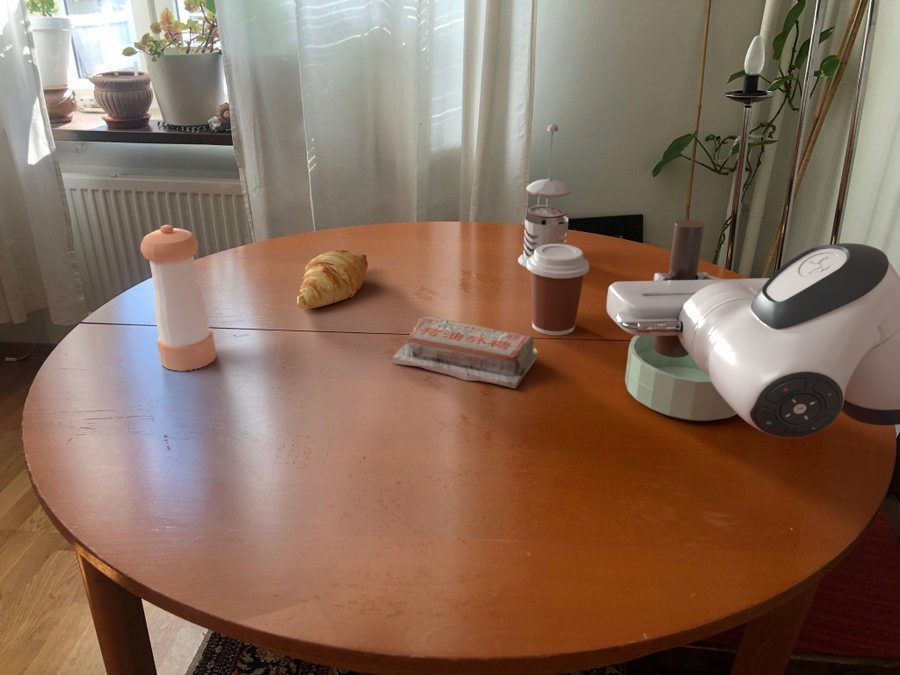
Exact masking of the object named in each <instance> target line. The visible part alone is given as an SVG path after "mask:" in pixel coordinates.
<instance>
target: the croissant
mask: <svg viewBox="0 0 900 675" xmlns="http://www.w3.org/2000/svg"><path fill="white" fill-rule="evenodd" d="M368 266H369V262H368V260H367V256H366V254H363V253H351V252H350V251H349V250H329V251H325V252H322V253H321V254H318V255H316V256H314V257H313V258H312V259H311V260H309V261H308V263H307V264H306V266H305V268H304V270H305V273H304V275H303V276H302V284H301V285H300V287H299V294H298V295H297V296H296V300H297V301H296V305H297V306H298V307H299V308H300V309H305V310H306V309H308V310H309V309H314V308H322V307H325V306H328V305H332V304H334V303H338V302H341V301H344V300H347V299H349V298H353V297H354V296H355V295H356V293H357V292H358V291H359V290H360V289H361V287H362V286H363V284H364V281H365V280H364V279H365V277H366V274H367V270H368Z"/></svg>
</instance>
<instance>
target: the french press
mask: <svg viewBox="0 0 900 675" xmlns="http://www.w3.org/2000/svg"><path fill="white" fill-rule="evenodd" d="M546 131H547V132H551V133H550V134H551V135H550V136H551V138H550V152H549V165H548V178H547V179H538V180H535V181H533V182H531V183H529V184H528V185H527V186H526V188H525V190H526V191H527V192H528V193H529V194H531V195H534V196H537V205H533V206H530V207H528V208H527V213H528V215H526V216H525V218H524V235H523V236H524V237H523V253H522V254H521V255H520V256H519V257H518V259H517V262H518V263H519V265H520V266H522V267H525V268H527V260H528V259H529V258H530V257H531V256H533V255H534V250H535V249H536V248H538V247H539V246H542V245H547V244H563V243H564V244H565V245H568V244H567V243H568V241H567V240H568V230H569V229H568V228H569V218H568V217H567V216H566V215H567V214H568V210H567V209H565V208H564V207H561V206H560V205H559V206H558V205H550V204H549V201H550V199H549V198H560V197H565V196H568V195H570V194H571V193H572V191H573V190H572V188H571V187H570V186H569V185H568V184H566V183H565V182H563V181H560V180H557V179H553V178H551V169H552V156H553V141H554V140H553V138H554V133H555V132H559V127H558V125H557V124H555V123H550V124H549V125H547V128H546ZM541 199H545V200H546V204H540V200H541ZM543 219H545V224H542V221H543ZM560 236H562V237H563V238H560Z"/></svg>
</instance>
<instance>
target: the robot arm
mask: <svg viewBox="0 0 900 675" xmlns="http://www.w3.org/2000/svg"><path fill="white" fill-rule="evenodd" d="M606 313H607V314H608V316H609V317H610V318H611V320H612V321H613V322H614V323H615V324H616V325H617V326H618V327H619V328H620V329H622V330H623V331H624V332H626V333H628V334H630V335H633V336H636V335H637V336H670V335H678V337H679V340H680V342H681V344H682V345H683V347H684V348H685V349H686V351H687V352H688V353H689V354H690V356H691V357H692V358H693V360H694V361H695V362H696V364H697V365H698V366H699V368H700V369H701V370H702V371H703V372H704V373H706V374H707V375H708V376H710V379H711V381H712V383H713V385H714V387H715V388H716V390H717V391H718V392H719V394H720V395H721V396H722V397H723V399H724V400H725V401H726V402H727V403H728V404H729V406H730V407H731V408H732V409H733V410H734V411H735V412H736V413H737V415H738V416H739V417H740V418H741V419H742V420H743V421H744V422H746V423H747V424H749V425H750V426H751V427H753V428H754V429H757V430H758V431H760V432H762V433H764V434H767V435H769V436H773V437H776V438H782V439H783V438H784V439H801V438H805V437H809V436H812V435H816V434H817V433H819V432H821V431H823V430H825V429H826V428H827V427H829V426H830V425H832V424H833V422H835V421H836V419H837V418H838V417H839V415H840V413H841V412H842V413H843V414H844V415H845V416H847V417H848V418H850V419H852V420H855V421H857V422H859V423H863V424H867V425H873V426H897V425H898V426H899V425H900V276H899V274H898V273H897V271H896V269H895V268H894V266H893V265H892V263H891V262H890V260H889V258H888V256H887V254H886V253H885V252H884V251H882V250H881V249H879V248H878V247H874V246H871V245H868V244H863V243H853V242H842V243H830V244H823V245H818V246H815V247H812V248H809V249H807V250H805V251H804V252H801V253H799V254H798V255H796V256H795V257H793V258H791V259H789V261H787V262H786V263H785V264H783V265H781V267H780V268H779V269H777V271H775V272H774V273H773V274H772V275H771V276H770V277H764V278H763V277H762V278H761V277H760V278H759V277H757V278H720V277H716V276H713V275H710V274H709V273H708V272H706V271H697V278H696V280H672V277H671V276H670V275H669V273H668V272H655V273H654V276H653V280H635V281H633V280H632V281H631V280H629V281H627V280H626V281H615V282H613V283H611V284H610V285H609V286H608V288H607V296H606Z"/></svg>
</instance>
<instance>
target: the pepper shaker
mask: <svg viewBox="0 0 900 675" xmlns="http://www.w3.org/2000/svg"><path fill="white" fill-rule="evenodd" d="M198 248H199V241H198V239H197V237H195V235H194V234H193V233H192V232H191V231H189V230H186V229H182V228H178V227H173V226H172V225H170V224H164V225H162V226H160V228H159V229H156V230H153V231H152V232H150V233H148V234H146V235H145V236H143V239H142V241H141V243H140V249H139V250H140V252H141V254H142V255H143V257H144V258H145V259H146V260H147V261H149V265H150V266H149V267H150V272H151V277H152V283H153V289H154V319H155V324H156V329H157V332H158V337H157V341H156V344H157V350H158V354H159V358H160V364H161V363H162V364H161V365H163V366H164V367H166V368H168V369H172V370H178V371H177V372H187V371H186V370H190V371H193V370H192V369H195V370H198V369H197V368H199V369H202V368H204V367H207V366H209V365H210V364H212V363H214V361H215V360H216V358H217V350H216V343H215V338H214V333H213V331H212V330H211V329H210V323H209V316H208V314H209V313H208V308H207V306H206V305H207V304H206V302H205V299H204V297H203V294H202V290H201V288H200V284H199V279H198V274H197V273H198V272H197V268H196V261H195V255H196V254H197V253H198ZM214 359H215V360H214ZM211 362H212V363H211ZM209 363H210V364H209ZM208 364H209V365H208ZM206 365H207V366H206ZM163 366H162V367H163ZM203 366H204V367H203ZM164 367H163V368H164ZM201 367H202V368H201ZM166 368H165V369H166ZM168 369H167V370H168ZM172 370H171V371H172Z"/></svg>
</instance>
